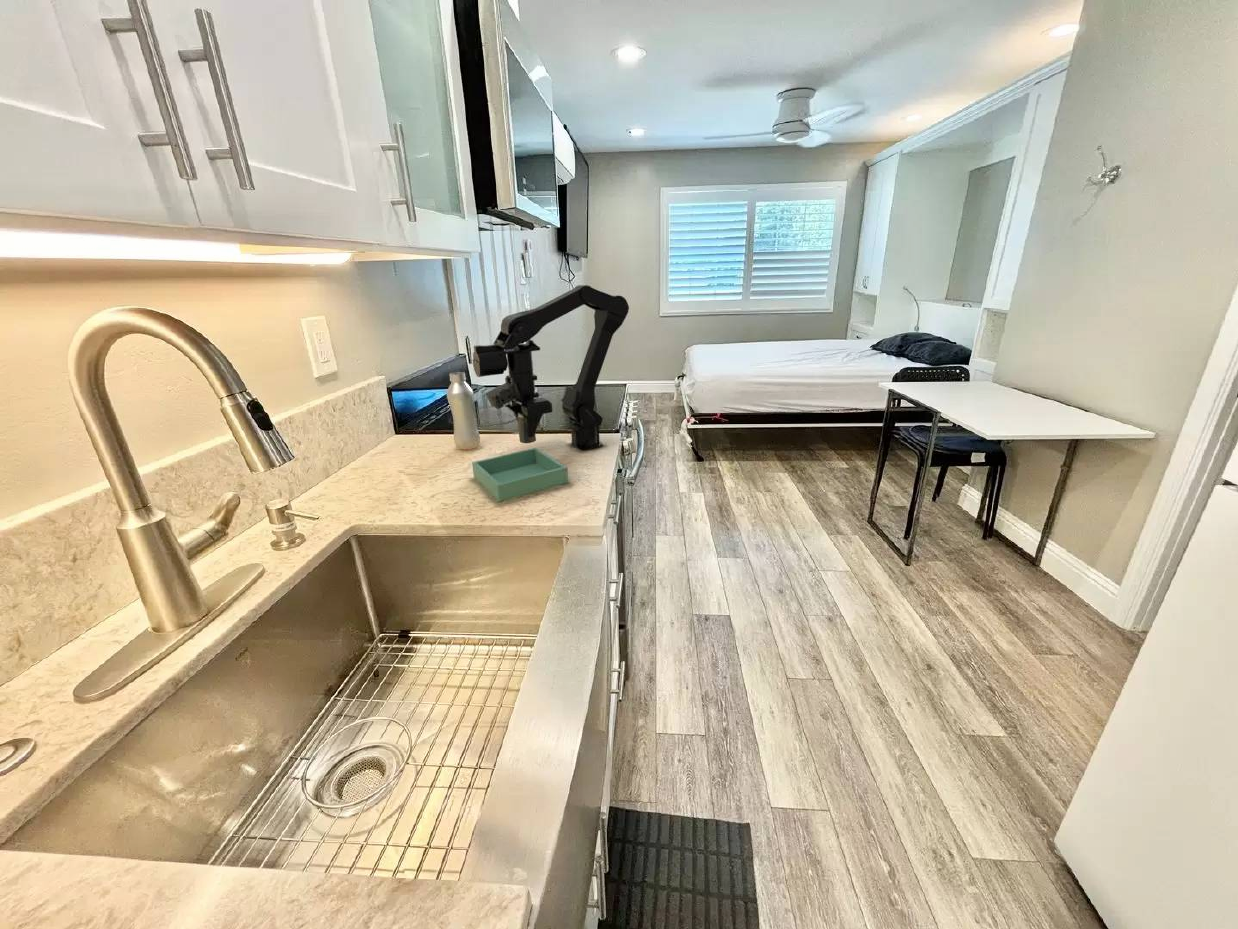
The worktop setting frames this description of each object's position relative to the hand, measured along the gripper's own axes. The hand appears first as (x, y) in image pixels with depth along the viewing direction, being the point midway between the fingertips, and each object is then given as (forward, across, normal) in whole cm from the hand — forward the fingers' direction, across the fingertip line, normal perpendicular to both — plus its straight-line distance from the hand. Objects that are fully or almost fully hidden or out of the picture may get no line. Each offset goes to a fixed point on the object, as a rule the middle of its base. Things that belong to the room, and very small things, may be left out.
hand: (527, 434), depth 120 cm
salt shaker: (+2, 0, 0) cm, 2 cm away
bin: (+6, +13, -8) cm, 16 cm away
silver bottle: (+6, -17, -10) cm, 21 cm away
